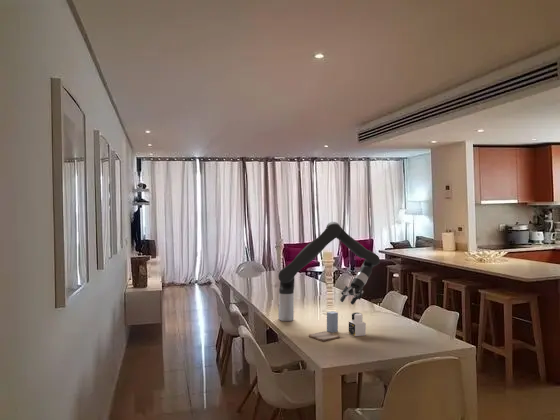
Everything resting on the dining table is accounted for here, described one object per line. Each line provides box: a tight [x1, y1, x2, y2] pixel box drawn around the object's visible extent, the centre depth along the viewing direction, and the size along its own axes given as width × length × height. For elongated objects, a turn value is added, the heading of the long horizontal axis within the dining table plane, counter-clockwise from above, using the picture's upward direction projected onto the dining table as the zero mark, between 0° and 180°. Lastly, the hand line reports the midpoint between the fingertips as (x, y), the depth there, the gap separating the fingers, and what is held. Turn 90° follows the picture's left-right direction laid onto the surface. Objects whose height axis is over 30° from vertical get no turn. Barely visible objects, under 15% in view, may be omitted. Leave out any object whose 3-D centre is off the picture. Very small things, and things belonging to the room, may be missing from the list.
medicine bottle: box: [348, 312, 367, 337], centre depth 257 cm, size 7×7×12 cm
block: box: [326, 311, 339, 334], centre depth 263 cm, size 4×4×11 cm
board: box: [308, 330, 340, 343], centre depth 251 cm, size 12×12×1 cm
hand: (346, 302), depth 270 cm, fingers open, 8 cm apart
